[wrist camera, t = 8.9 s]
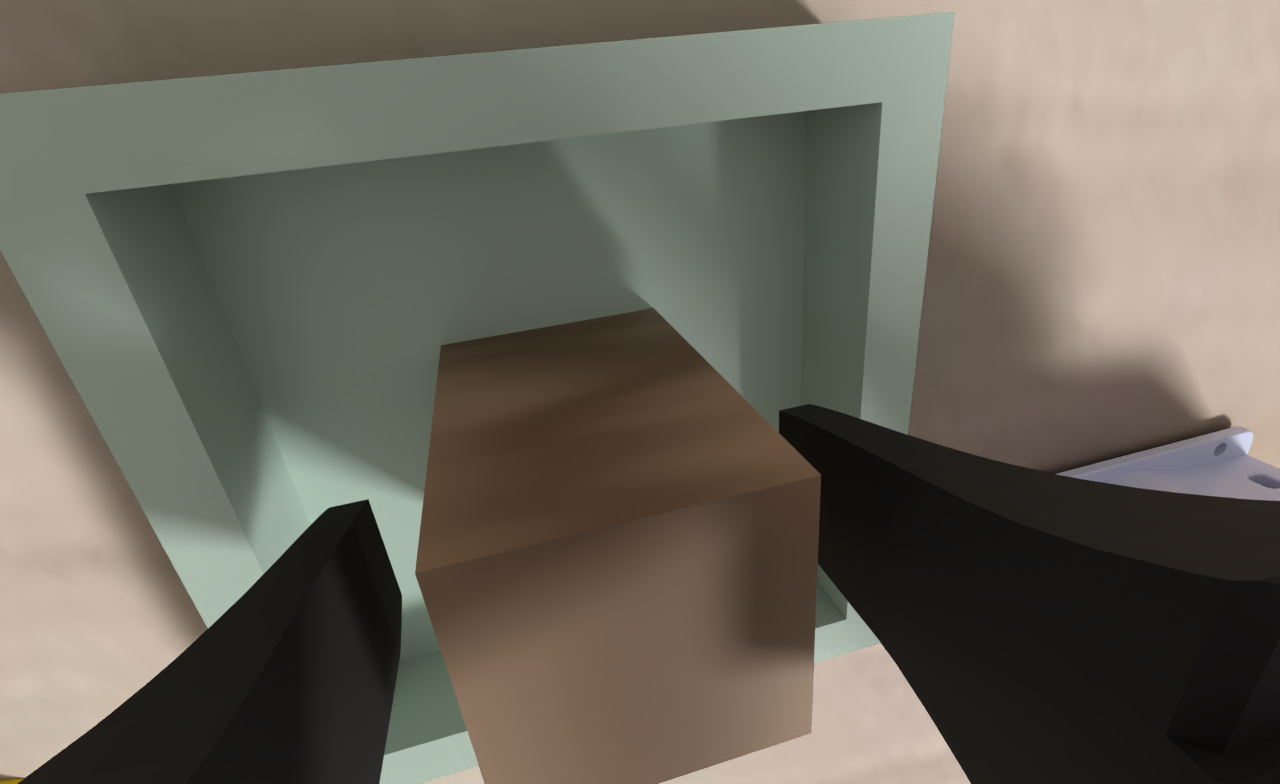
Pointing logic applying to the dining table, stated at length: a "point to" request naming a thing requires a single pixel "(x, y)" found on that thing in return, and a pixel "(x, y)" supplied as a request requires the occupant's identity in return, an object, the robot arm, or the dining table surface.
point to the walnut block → (615, 556)
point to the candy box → (11, 781)
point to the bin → (462, 267)
